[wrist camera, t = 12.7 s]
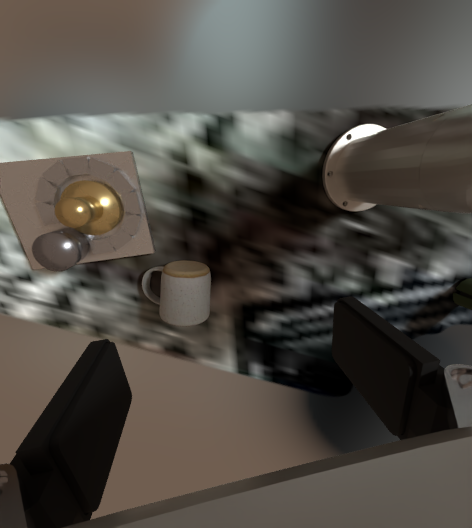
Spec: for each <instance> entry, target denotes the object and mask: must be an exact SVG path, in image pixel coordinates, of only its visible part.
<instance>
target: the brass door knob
mask: <svg viewBox="0 0 472 528" xmlns="http://www.w3.org/2000/svg"><path fill="white" fill-rule="evenodd" d="M55 215H56V217H57V219H58V220H59V221H60V222H61V223H62V224H63V225H65V226H67V227H71V228H74V229H76V230H77V231H79V232H81V233H84V234H87V235H101V234H104V233H107V232H109V231H110V230H112V229H114V228H115V227H116V226H117V225H118V224H119V222H120V220H121V218H122V204H121V201H120V199H119V197H118V196H117V194H116V193H115V192H114V191H113V190H112V189H111V188H110V187H108V186H107V185H105V184H103V183H100V182H97V181H87V180H83V181H77V182H74V183H72V184H70V185H69V186H67V187H66V188H65V189H64V191H63V192H62V195H61V198H60V201H59V202H58V203H57V204H56V206H55Z"/></svg>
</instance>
